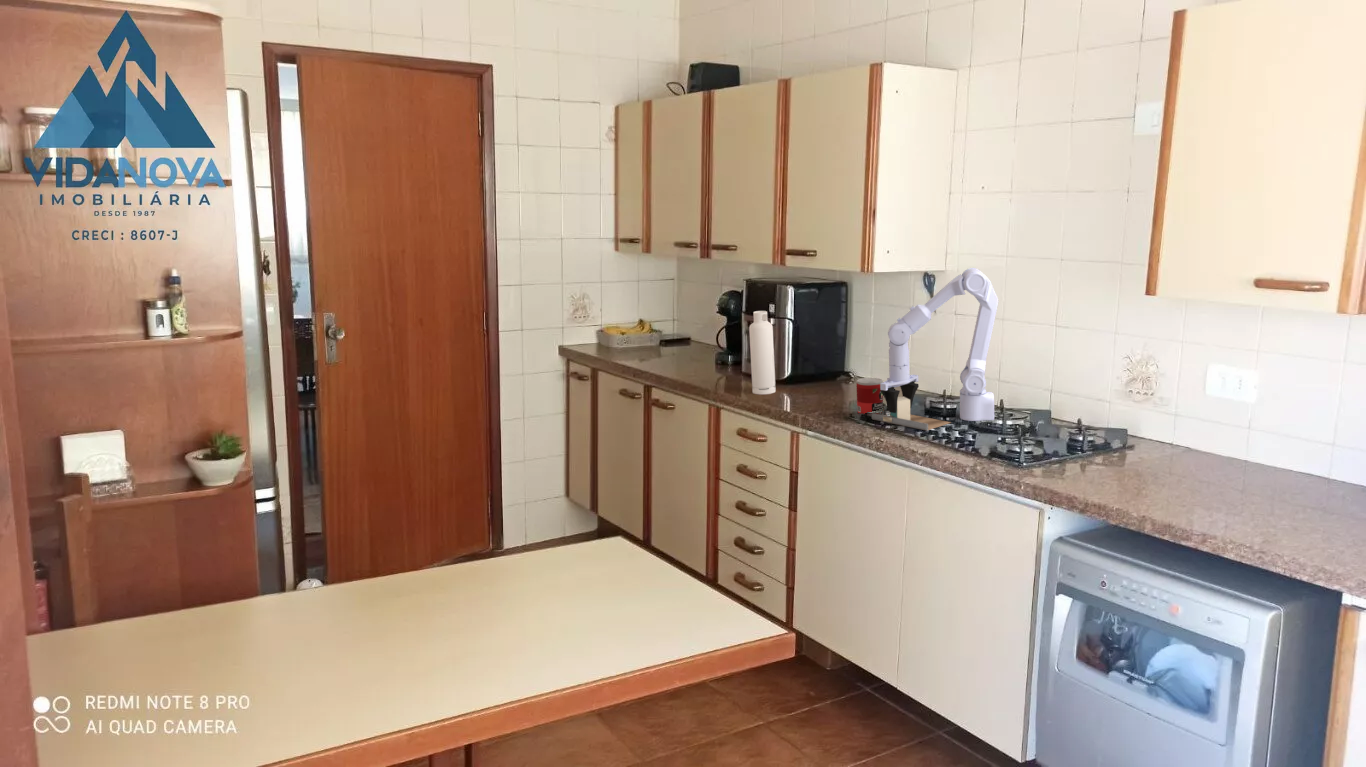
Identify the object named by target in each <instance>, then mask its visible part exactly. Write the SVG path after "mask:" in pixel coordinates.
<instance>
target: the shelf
mask: <svg viewBox="0 0 1366 767" xmlns="http://www.w3.org/2000/svg"><path fill="white" fill-rule="evenodd" d="M871 419H872V420H874V421H880V422H884V423H888V424H894V425H899V426H902V427H908V428H912V429H917V430H921V431H922V430H923V431H926V432H928V431H930V430H933V429H936V428H939V427H942V426H945V425H946V426H947V425H949V424H952V422H951V421H946V420H942V419H941V420H940V419H936V418H932V417H931V418H930V417H926V416H921V415H914V414H911V413H910V420H907V419H902V418H897V417H892V416H887V414H882V413H872V414H871Z"/></svg>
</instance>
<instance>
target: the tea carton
mask: <svg viewBox="0 0 1366 767" xmlns="http://www.w3.org/2000/svg"><path fill="white" fill-rule="evenodd" d="M889 414H890V416H892V417H897V418H902V419H907V420H910V414H911V408H910V399H908V398H906V397H904V396H903V395H901V396H899V395H898V399H897V411H896V413H892V412H889Z"/></svg>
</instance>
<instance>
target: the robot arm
mask: <svg viewBox="0 0 1366 767" xmlns="http://www.w3.org/2000/svg"><path fill="white" fill-rule="evenodd" d="M965 291H966V292H967V293H969V294H970V295H972V296H974V298H975V299H976V300H977V302H978V303H979V307H978V311H977V316H976V321H975V325H974V331H973V334H972V335H973V336H972V339H971V340H972V341H971V344H970V348H969V349H970V350H969V354H968V357H967V360H966V363H965V366H964V368H963V369H962V370H961V372H960V376H959V380H960V382H961V384H962V388H961V389H960V390H959V418H960V419H961V420H962V421H963V420H964V421H969V422H972V421H973V422H978V421H979V422H980V421H994V420H995V394H994V393H993V392H992V391H987V389H986V387H987V381H986V377H985V375H986V366H987V365H986V363H987V357H988V352H989V348H990V344H991V338H992V334H993V329H994V326H995V325H994V324H995V320H996V315H997V311H998V306H999V298H998V296H997V293H996V292H995V289H994V286H993V284H992V282H991V280H990V279H989V278H988V277H987V275H986V274H984V273H983V272H982V271H981V270H980V269H978V268H976V267H970V268H967V269H966V270H964V271H963V272H962V274H958V275H957V276H955V277H954V278H953V279H952V280H950V281H949V282H948V283H947V284H946V285H944V286H943V287H942V288H941V289H940V290H939V291H937V293H936V294H935V295H934V296H933V297H931V298H930V299H929V300H928V301H927V302H925V303H924V304H916V305H912V306H910V307H909V310H910V311H907V313H905V315H903V316H902V317H898V318H897V319H896V321H897V322H894V323H893V324H891V325H890V326H889V328H888V331H887V335H888V339H889V342H888V347H889V349H888V365H889V366H888V367H889V368H888V371H889V375H888V376H889V377H886V378H887V379H886V380H885V381H883V383H880V390H881V393H882V394H883V399H885V402H886V405H887V409H888V412H889V413H890V412H892V413H896V411H897V399H898V397H899V394H900V392H901V394H902V395H901V396H904V397H906V398H908V399H910V409H912V404H913V401H914V398H915V395H916V393H917V391H918V389H919V383H918V382H919V375H918V374H911V373H910V372H911V370H910V348H909V341H910V337H911V335H914V334H915V333H917V332H918V331H919V330H921V328H922V327H924V326H925V325H926V324H928V323H929V322H930V321H931V320H932V313H934V312H935V311H937V310H938V309H939V308H940V307H941V306H943V305H944V304H945V303H947V302H948V301H950V300H951V299H953V297H955V296H961V295H962V296H964V295H966V293H965ZM897 387H900V390H901V391H900V390H897V389H896V388H897Z"/></svg>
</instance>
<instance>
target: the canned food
mask: <svg viewBox="0 0 1366 767" xmlns="http://www.w3.org/2000/svg"><path fill="white" fill-rule="evenodd" d="M883 382H884V381H883V379H882V378H877V377H863V378H858V379H857V380H856V385H855V386H856V410H857V411H856V413H857V412H858V413H860V414H859V415H861V414H863V415H864V414H865V413H867V412H872V411H876V410H879V409H882V408H883V409H884V396H883V394H882V393H881V390H880V383H883ZM865 415H866V414H865Z"/></svg>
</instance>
